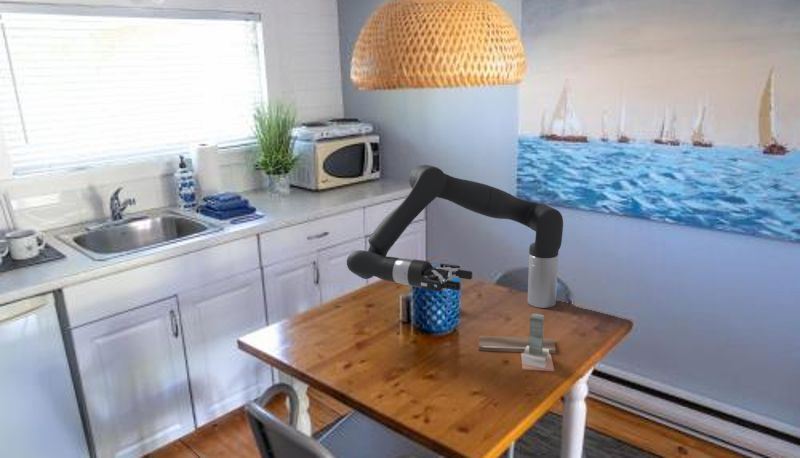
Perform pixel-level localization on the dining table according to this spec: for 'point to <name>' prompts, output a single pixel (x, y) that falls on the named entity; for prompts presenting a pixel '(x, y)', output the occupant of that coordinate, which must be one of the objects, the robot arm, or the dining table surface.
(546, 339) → the grey-brown board
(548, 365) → the end pad
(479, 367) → the dining table surface
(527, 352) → the tall grey square pillar
